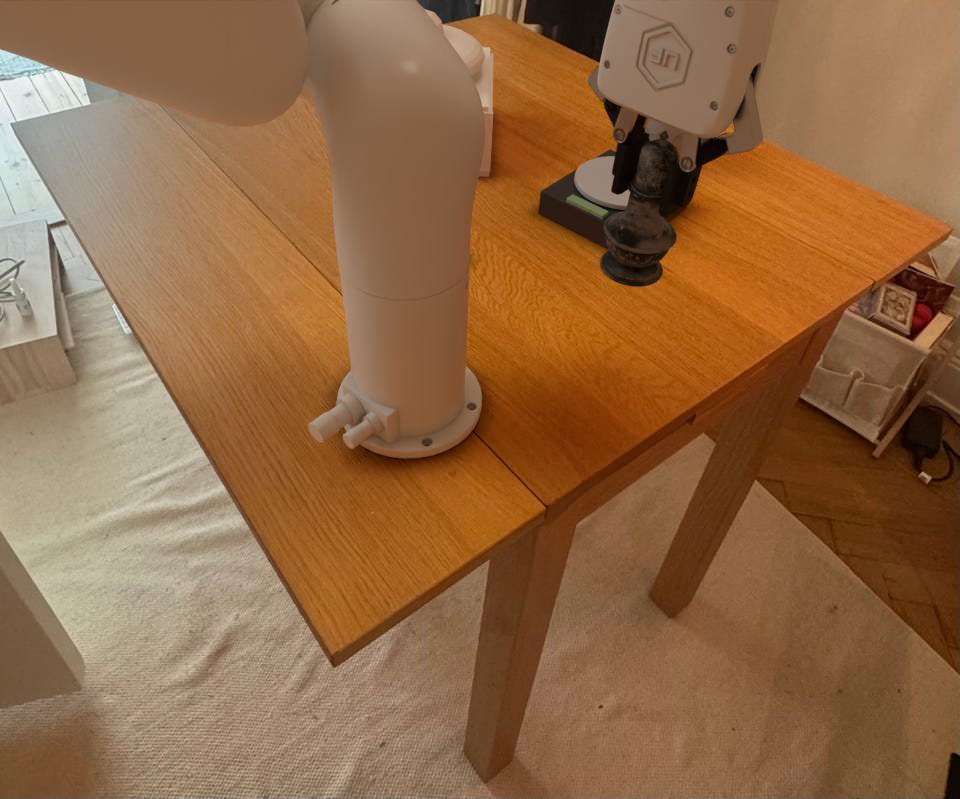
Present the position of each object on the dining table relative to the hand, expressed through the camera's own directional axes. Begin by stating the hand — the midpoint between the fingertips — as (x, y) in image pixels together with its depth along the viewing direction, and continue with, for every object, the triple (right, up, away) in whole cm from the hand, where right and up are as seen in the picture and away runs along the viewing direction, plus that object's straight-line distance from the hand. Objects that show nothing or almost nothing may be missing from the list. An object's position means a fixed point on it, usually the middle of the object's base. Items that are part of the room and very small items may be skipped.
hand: (648, 196), depth 56 cm
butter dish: (-21, +19, +41) cm, 50 cm away
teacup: (+12, +17, +42) cm, 47 cm away
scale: (+3, +7, +31) cm, 32 cm away
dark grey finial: (0, -5, +5) cm, 7 cm away
